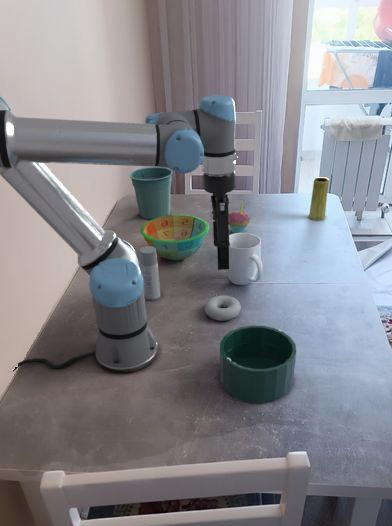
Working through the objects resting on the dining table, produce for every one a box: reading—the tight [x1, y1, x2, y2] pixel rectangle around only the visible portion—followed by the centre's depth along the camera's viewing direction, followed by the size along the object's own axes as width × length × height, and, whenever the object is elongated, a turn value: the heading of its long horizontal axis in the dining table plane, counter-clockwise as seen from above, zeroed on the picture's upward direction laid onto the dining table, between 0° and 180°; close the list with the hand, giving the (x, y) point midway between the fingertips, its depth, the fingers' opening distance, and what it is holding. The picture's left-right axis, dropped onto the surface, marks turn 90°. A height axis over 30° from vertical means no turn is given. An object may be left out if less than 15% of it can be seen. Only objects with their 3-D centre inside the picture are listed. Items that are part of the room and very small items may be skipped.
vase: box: [308, 177, 330, 221], centre depth 180 cm, size 6×6×14 cm
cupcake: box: [228, 199, 251, 234], centre depth 173 cm, size 9×8×12 cm
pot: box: [219, 325, 297, 404], centre depth 109 cm, size 17×17×9 cm
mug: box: [224, 232, 264, 286], centre depth 142 cm, size 15×11×13 cm
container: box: [139, 245, 162, 302], centre depth 137 cm, size 5×5×15 cm
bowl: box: [140, 214, 210, 261], centre depth 159 cm, size 22×22×10 cm
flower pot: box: [129, 166, 174, 220], centre depth 187 cm, size 16×16×16 cm
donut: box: [204, 295, 242, 322], centre depth 132 cm, size 10×4×10 cm
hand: (221, 256), depth 123 cm, fingers open, 13 cm apart
